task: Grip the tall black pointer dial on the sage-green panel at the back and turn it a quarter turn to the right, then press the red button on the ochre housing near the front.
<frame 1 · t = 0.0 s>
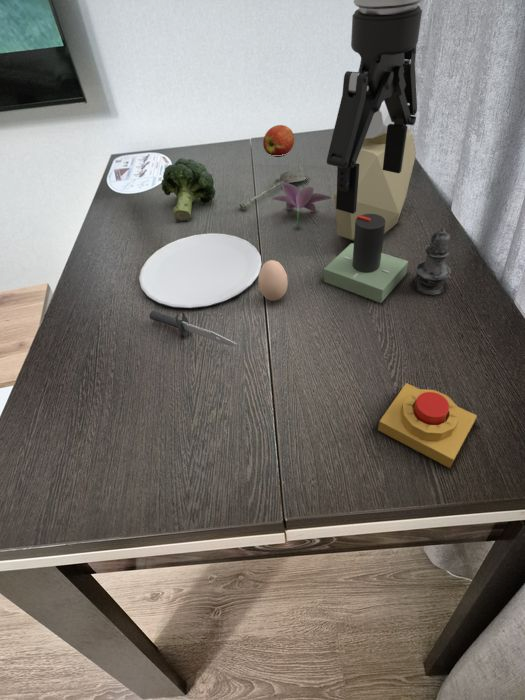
hand: (370, 189, 64), 21 cm above the table, tool pointing down, fingers open, 13 cm apart
egg: (274, 299, 82), on the table
lily: (300, 219, 100), on the table
knife: (196, 339, 76), on the table
tan faceted bottle: (370, 230, 95), on the table
dial panel: (364, 278, 83), on the table
chess piece: (429, 286, 80), on the table
apple: (280, 156, 125), on the table
vegetable: (193, 209, 108), on the table
plate: (201, 271, 90), on the table
button box: (425, 427, 60), on the table
dial: (368, 243, 78), point 8 cm above the table, hinge at 0.0°
button: (431, 408, 56), point 4 cm above the table, slide at 0.1 cm
soupspoon: (273, 193, 110), on the table
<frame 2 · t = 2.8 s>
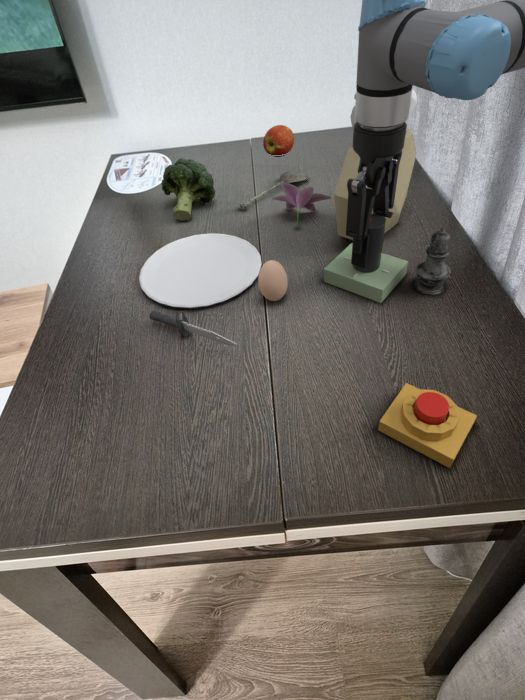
hand: (366, 257, 80), 5 cm above the table, tool pointing down, fingers closed on dial, 5 cm apart
dial: (368, 243, 78), point 8 cm above the table, hinge at 0.0°, touching gripper
everything else where it was.
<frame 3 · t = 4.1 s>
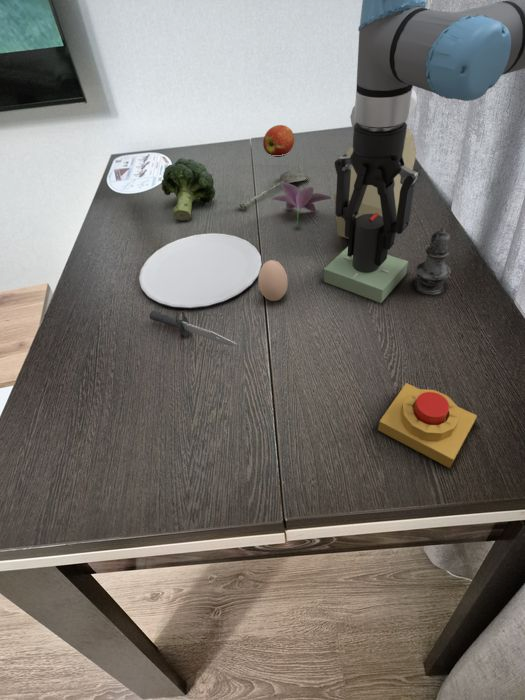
hand: (366, 257, 80), 5 cm above the table, tool pointing down, fingers closed on dial, 5 cm apart
dial: (368, 243, 78), point 8 cm above the table, hinge at -89.3°, touching gripper
everything else where it was.
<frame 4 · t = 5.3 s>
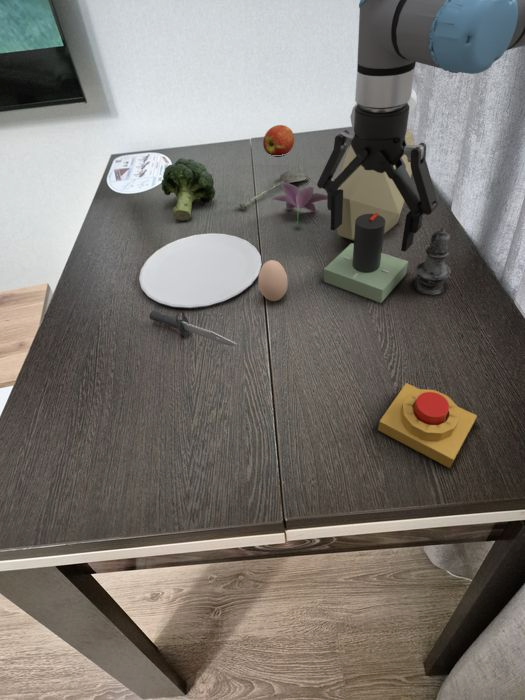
hand: (369, 236, 76), 9 cm above the table, tool pointing down, fingers open, 13 cm apart
dial: (368, 243, 78), point 8 cm above the table, hinge at -88.8°
everything else where it was.
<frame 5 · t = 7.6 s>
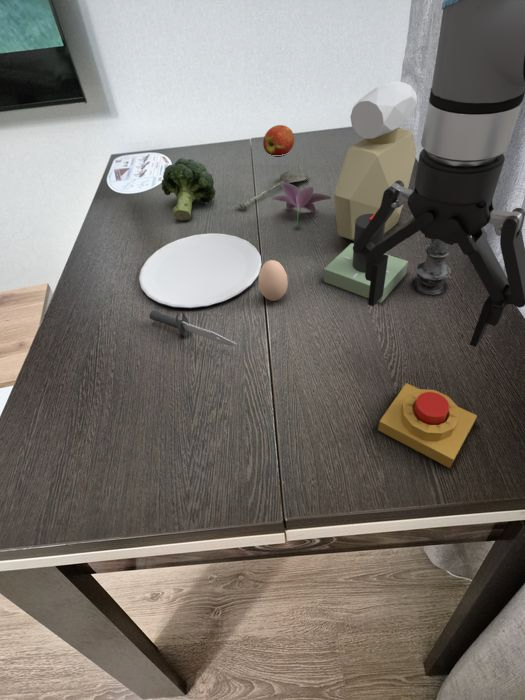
hand: (423, 318, 56), 13 cm above the table, tool pointing down, fingers open, 13 cm apart
nothing on the table moved.
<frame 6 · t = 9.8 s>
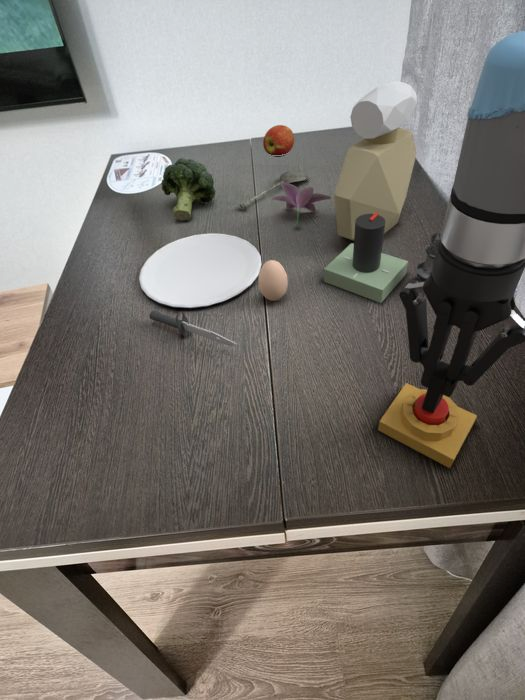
hand: (431, 403, 56), 5 cm above the table, tool pointing down, fingers closed
button: (430, 409, 57), point 4 cm above the table, slide at -0.2 cm, touching gripper
everything else where it was.
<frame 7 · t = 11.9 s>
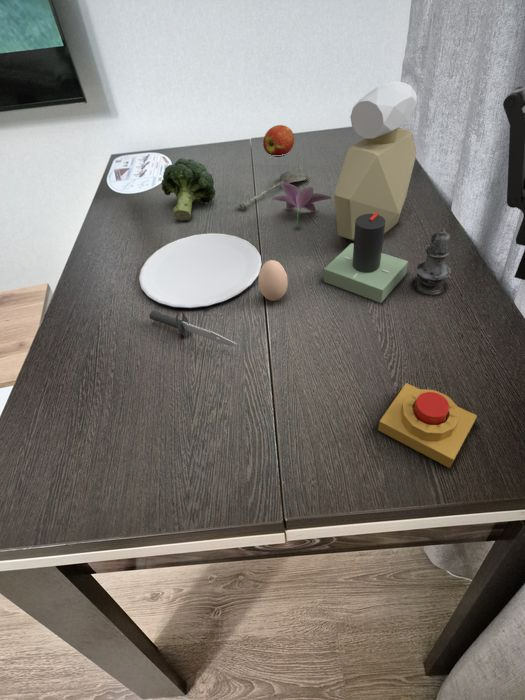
button: (431, 408, 56), point 4 cm above the table, slide at 0.1 cm
everything else where it was.
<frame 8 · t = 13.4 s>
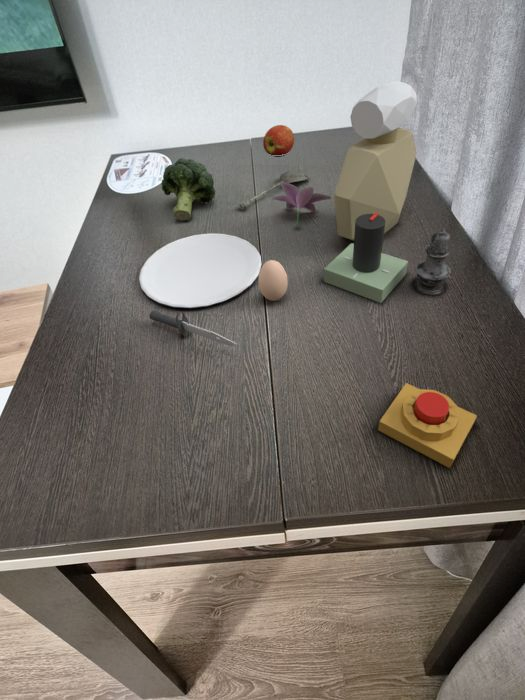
nothing on the table moved.
at the end: dial at -89° (first picture: +0°); button pushed in 1.0 cm at the most during the clip, back to where it started at the end; button slide at 0.1 cm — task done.
